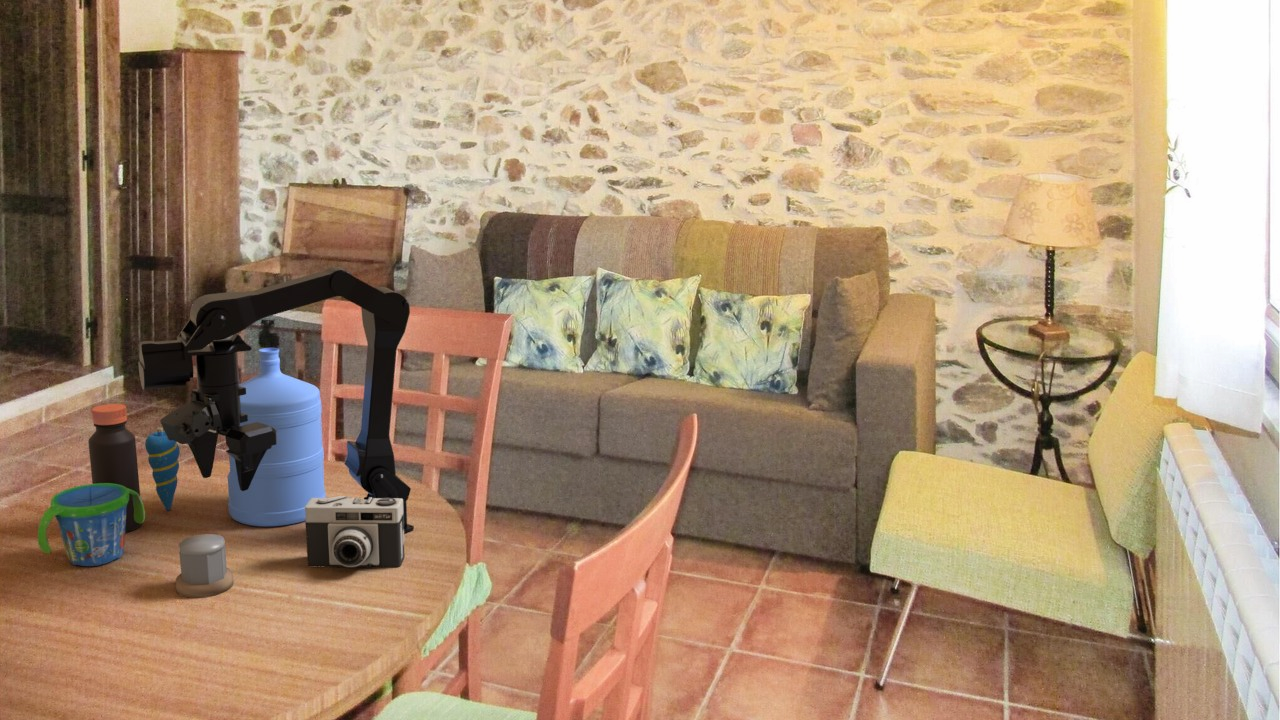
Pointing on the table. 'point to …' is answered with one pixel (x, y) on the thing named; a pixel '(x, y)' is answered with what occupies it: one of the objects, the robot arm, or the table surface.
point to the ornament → (163, 464)
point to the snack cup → (91, 522)
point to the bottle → (114, 454)
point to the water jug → (280, 448)
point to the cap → (202, 559)
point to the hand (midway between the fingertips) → (225, 483)
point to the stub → (204, 587)
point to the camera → (355, 532)
